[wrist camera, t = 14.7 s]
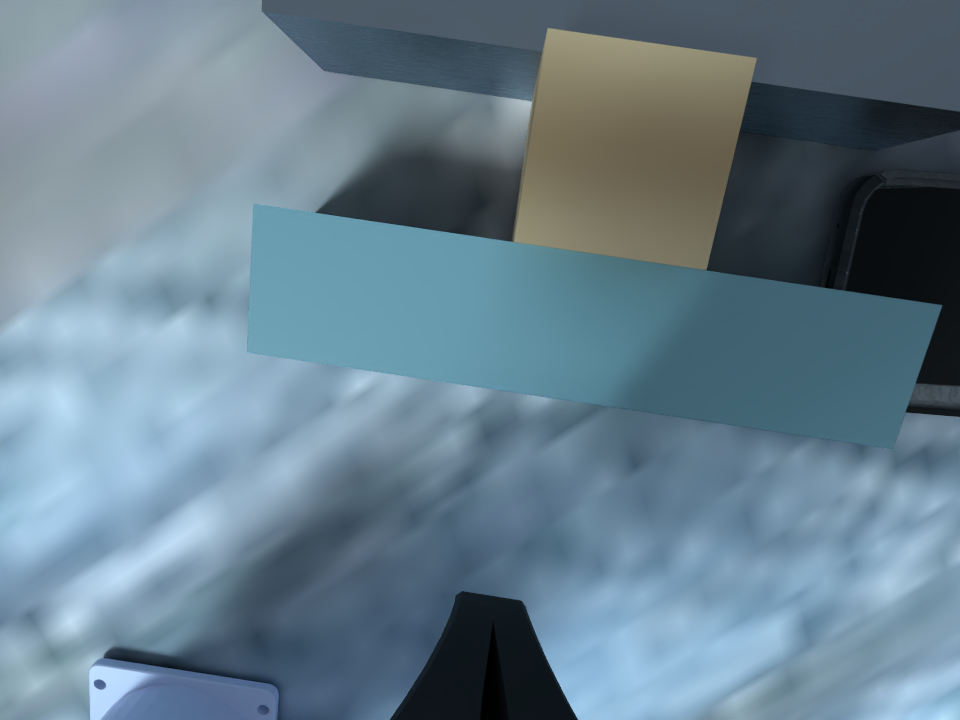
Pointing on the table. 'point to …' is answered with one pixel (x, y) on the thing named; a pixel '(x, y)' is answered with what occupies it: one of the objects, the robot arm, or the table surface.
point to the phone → (906, 264)
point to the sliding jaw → (584, 326)
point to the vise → (675, 22)
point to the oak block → (629, 148)
